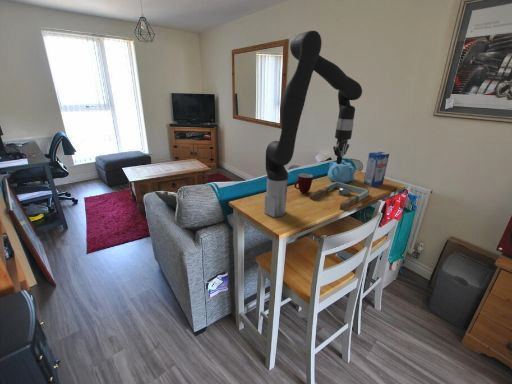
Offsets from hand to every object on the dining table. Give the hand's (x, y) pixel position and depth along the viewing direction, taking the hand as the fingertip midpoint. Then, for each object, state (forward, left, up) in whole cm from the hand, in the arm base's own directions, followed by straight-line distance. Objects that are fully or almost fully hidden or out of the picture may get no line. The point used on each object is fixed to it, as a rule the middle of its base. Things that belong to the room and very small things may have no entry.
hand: (338, 163), depth 128 cm
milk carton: (+42, -5, -20) cm, 47 cm away
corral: (+14, 0, -20) cm, 24 cm away
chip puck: (+13, 0, -20) cm, 24 cm away
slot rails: (0, 0, -20) cm, 20 cm away
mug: (-3, +18, -20) cm, 27 cm away
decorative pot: (+33, +13, -20) cm, 41 cm away
